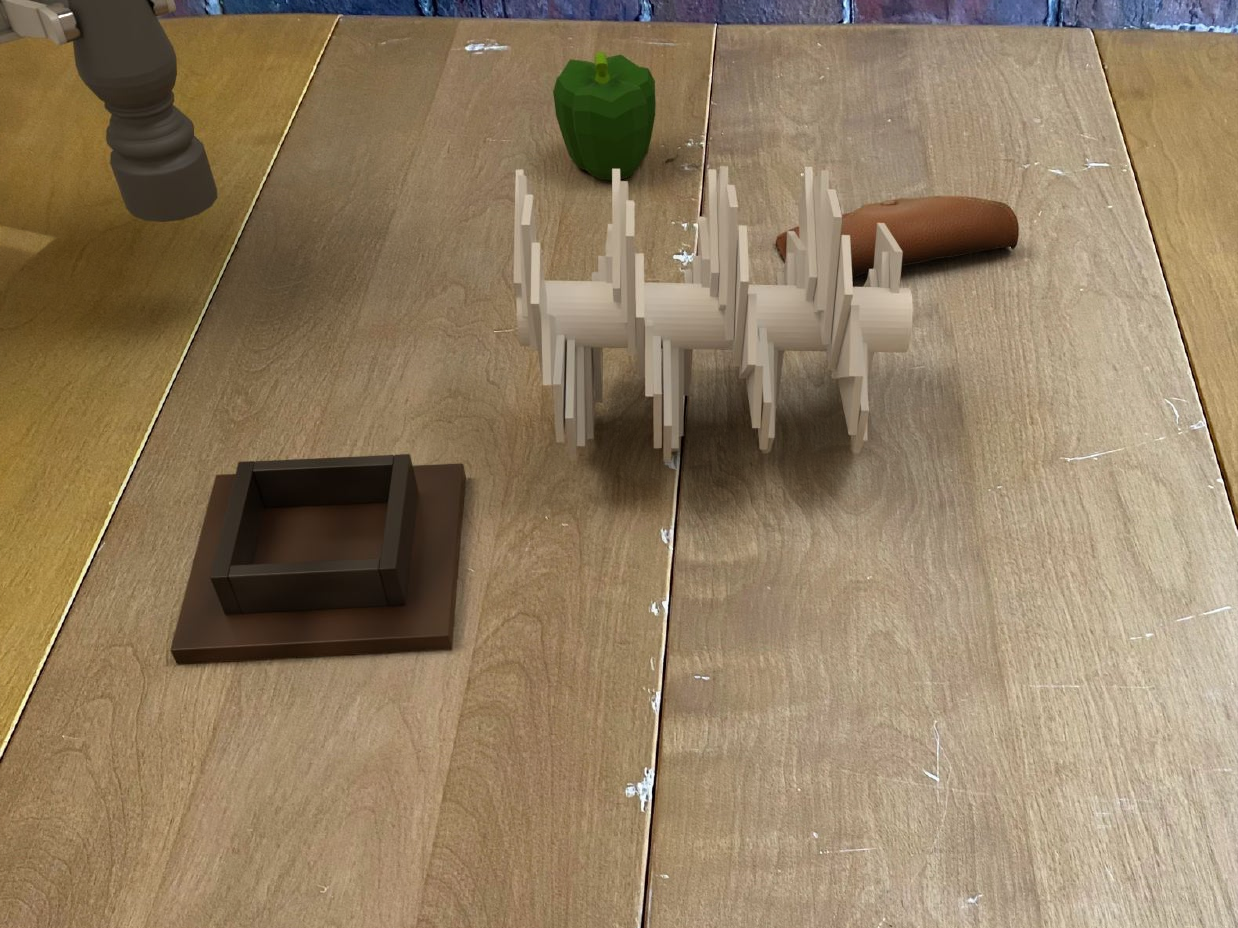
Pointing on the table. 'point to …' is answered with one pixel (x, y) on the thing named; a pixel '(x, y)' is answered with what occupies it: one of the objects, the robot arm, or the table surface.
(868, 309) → the spiral staircase
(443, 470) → the socket pad
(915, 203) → the sunglasses case
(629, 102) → the bell pepper
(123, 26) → the grey baluster post
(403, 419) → the table surface
